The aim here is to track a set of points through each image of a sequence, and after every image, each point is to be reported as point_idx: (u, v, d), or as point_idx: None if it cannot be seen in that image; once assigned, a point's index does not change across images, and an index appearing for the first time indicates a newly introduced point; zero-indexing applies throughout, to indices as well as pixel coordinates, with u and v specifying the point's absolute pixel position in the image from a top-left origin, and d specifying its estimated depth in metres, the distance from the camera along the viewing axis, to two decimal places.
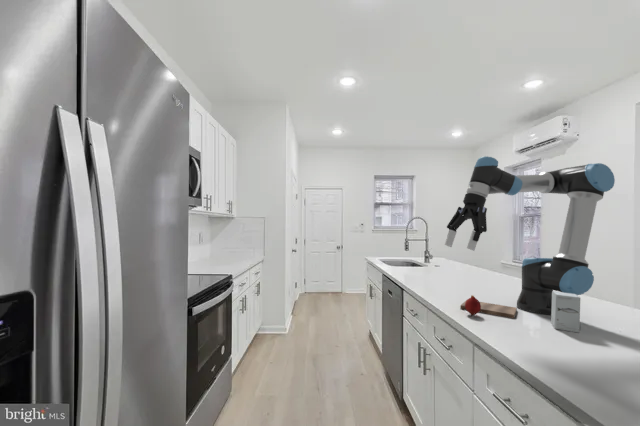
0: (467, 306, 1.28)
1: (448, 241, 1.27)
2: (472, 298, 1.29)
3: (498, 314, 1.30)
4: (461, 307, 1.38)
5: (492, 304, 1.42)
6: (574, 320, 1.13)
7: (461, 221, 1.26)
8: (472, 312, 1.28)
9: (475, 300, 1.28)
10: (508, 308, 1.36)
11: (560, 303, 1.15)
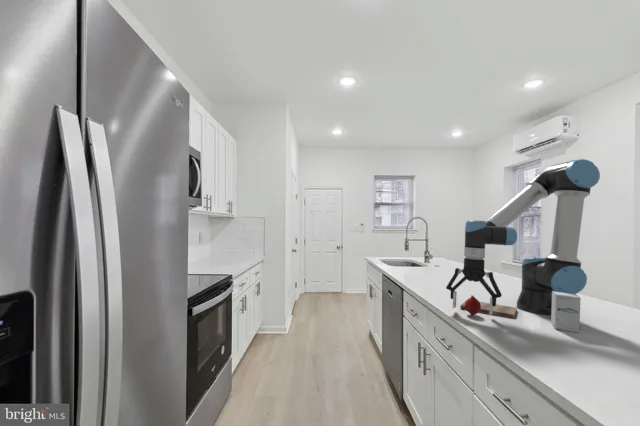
0: (467, 306, 1.28)
1: (455, 303, 1.32)
2: (472, 298, 1.29)
3: (498, 314, 1.30)
4: (461, 307, 1.38)
5: None
6: (574, 320, 1.13)
7: (462, 282, 1.32)
8: (472, 312, 1.28)
9: (475, 300, 1.28)
10: (508, 308, 1.36)
11: (560, 303, 1.15)
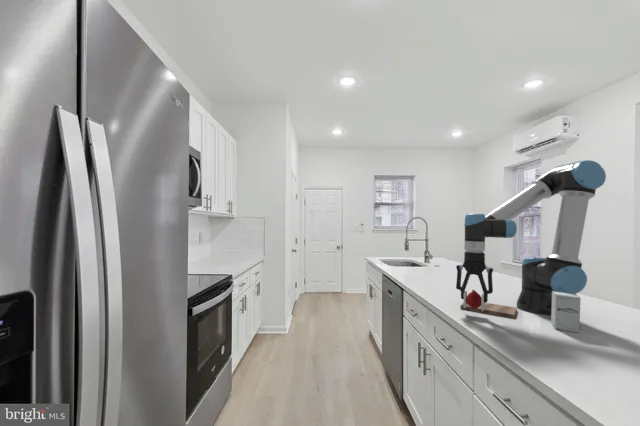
0: (468, 300, 1.28)
1: (465, 303, 1.30)
2: (473, 292, 1.29)
3: (498, 314, 1.30)
4: (461, 307, 1.38)
5: (492, 304, 1.42)
6: (574, 320, 1.13)
7: (468, 278, 1.31)
8: (473, 306, 1.28)
9: (476, 294, 1.28)
10: (508, 308, 1.36)
11: (560, 303, 1.15)
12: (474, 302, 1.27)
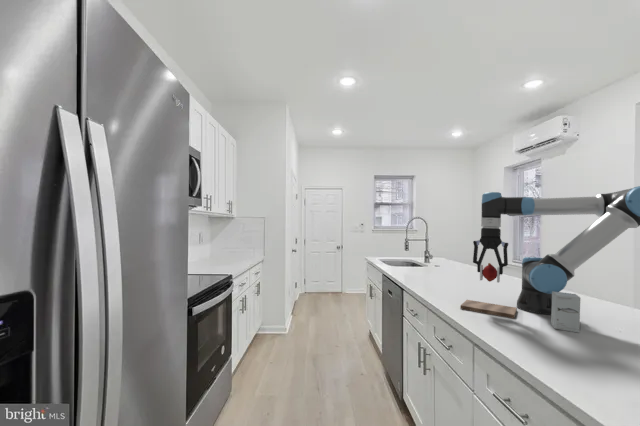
0: (485, 273, 1.38)
1: (482, 276, 1.40)
2: (489, 265, 1.38)
3: (498, 314, 1.30)
4: (461, 307, 1.38)
5: (492, 304, 1.42)
6: (574, 320, 1.13)
7: (484, 253, 1.40)
8: (489, 278, 1.37)
9: (492, 267, 1.37)
10: (508, 308, 1.36)
11: (560, 303, 1.15)
12: (490, 274, 1.36)
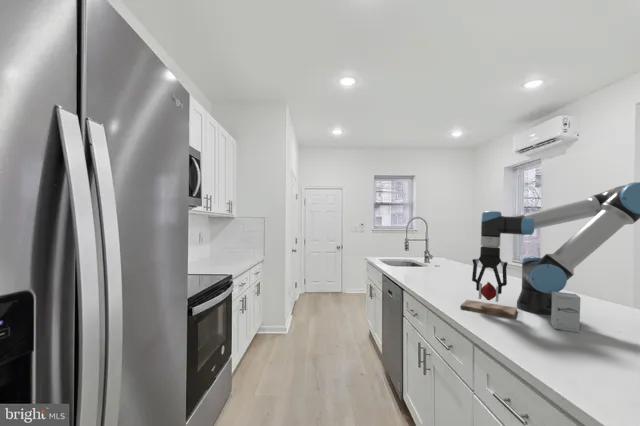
0: (483, 292, 1.38)
1: (480, 295, 1.40)
2: (488, 284, 1.38)
3: (498, 314, 1.30)
4: (461, 307, 1.38)
5: (492, 304, 1.42)
6: (574, 320, 1.13)
7: (483, 271, 1.40)
8: (488, 297, 1.37)
9: (491, 286, 1.37)
10: (508, 308, 1.36)
11: (560, 303, 1.15)
12: (489, 293, 1.36)
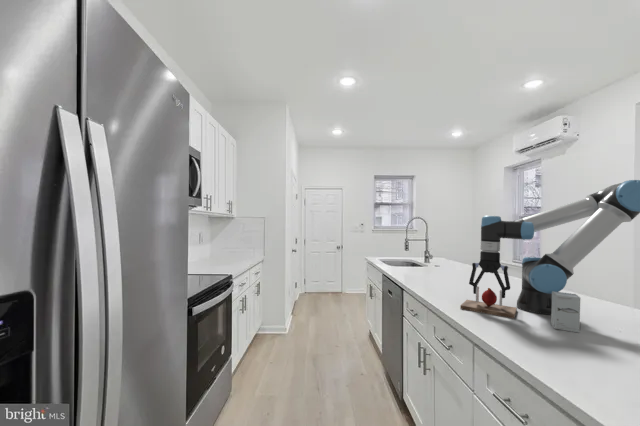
0: (484, 298, 1.38)
1: (477, 298, 1.40)
2: (489, 290, 1.38)
3: (498, 314, 1.30)
4: (461, 307, 1.38)
5: None
6: (574, 320, 1.13)
7: (482, 275, 1.41)
8: (488, 303, 1.37)
9: (492, 292, 1.37)
10: (508, 308, 1.36)
11: (560, 303, 1.15)
12: (489, 299, 1.36)
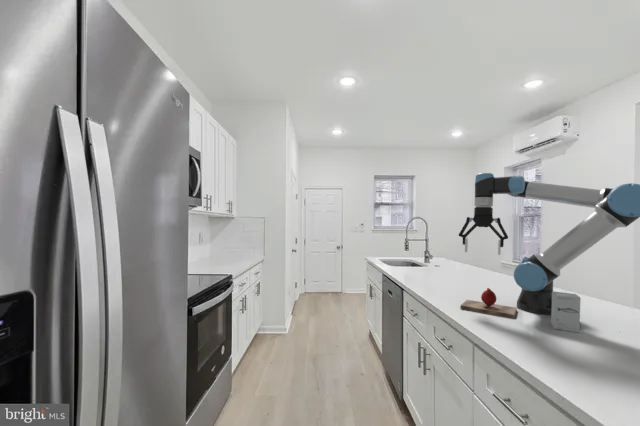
0: (483, 298, 1.38)
1: (466, 248, 1.49)
2: (488, 290, 1.38)
3: (498, 314, 1.30)
4: (461, 307, 1.38)
5: None
6: (574, 320, 1.13)
7: (473, 229, 1.49)
8: (488, 303, 1.37)
9: (491, 292, 1.37)
10: (508, 308, 1.36)
11: (560, 303, 1.15)
12: (489, 299, 1.36)
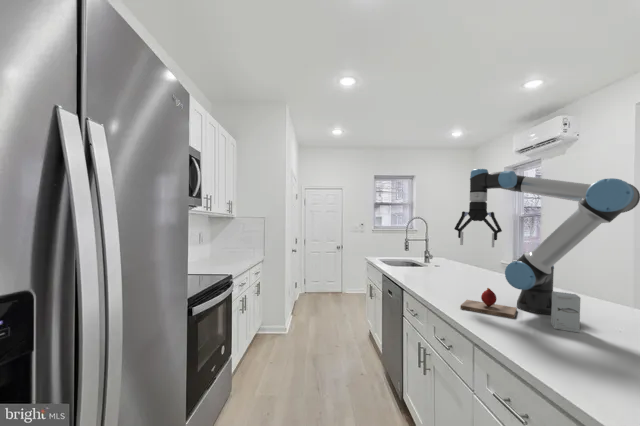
0: (483, 298, 1.38)
1: (462, 241, 1.55)
2: (488, 290, 1.38)
3: (498, 314, 1.30)
4: (461, 307, 1.38)
5: None
6: (574, 320, 1.13)
7: (468, 223, 1.55)
8: (488, 303, 1.37)
9: (491, 292, 1.37)
10: (508, 308, 1.36)
11: (560, 303, 1.15)
12: (489, 299, 1.36)
